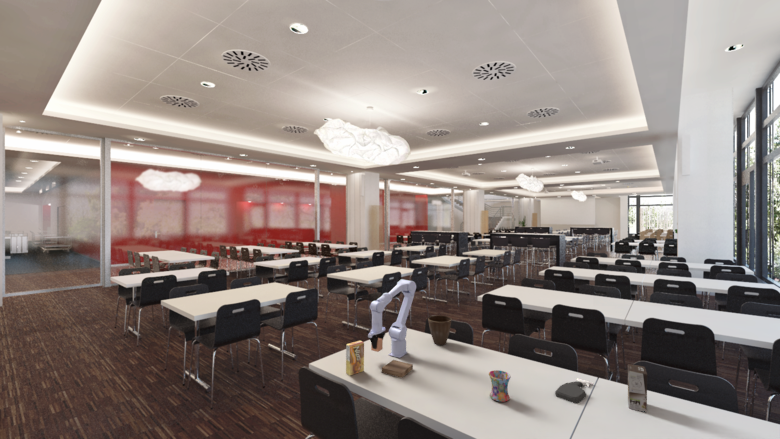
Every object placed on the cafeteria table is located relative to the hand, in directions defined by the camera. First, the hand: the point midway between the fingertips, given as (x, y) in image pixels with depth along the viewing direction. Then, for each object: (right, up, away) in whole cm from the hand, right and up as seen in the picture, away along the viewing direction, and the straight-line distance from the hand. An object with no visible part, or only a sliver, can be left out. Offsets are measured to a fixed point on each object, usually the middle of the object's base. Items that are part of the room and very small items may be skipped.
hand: (377, 346), depth 195 cm
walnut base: (+11, -9, -11) cm, 18 cm away
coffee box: (+113, -9, -46) cm, 122 cm away
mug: (+57, -9, -38) cm, 69 cm away
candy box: (-11, -9, -13) cm, 19 cm away
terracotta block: (0, -2, 0) cm, 2 cm away
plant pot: (+39, -9, +29) cm, 49 cm away
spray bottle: (+94, -9, -32) cm, 100 cm away
